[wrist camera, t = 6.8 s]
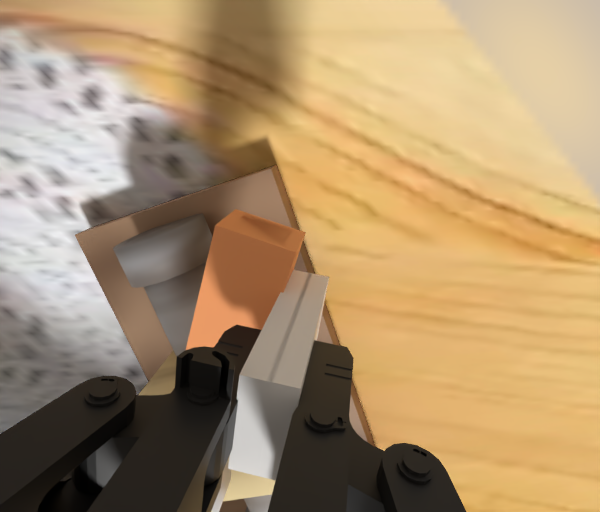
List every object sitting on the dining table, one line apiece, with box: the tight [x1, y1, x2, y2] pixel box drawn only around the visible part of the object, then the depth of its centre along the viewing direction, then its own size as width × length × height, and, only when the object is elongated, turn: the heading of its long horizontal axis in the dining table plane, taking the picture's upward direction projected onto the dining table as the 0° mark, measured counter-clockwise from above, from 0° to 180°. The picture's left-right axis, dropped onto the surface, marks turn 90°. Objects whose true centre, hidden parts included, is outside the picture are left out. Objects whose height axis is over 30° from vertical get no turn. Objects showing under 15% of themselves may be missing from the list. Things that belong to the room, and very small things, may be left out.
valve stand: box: [75, 165, 375, 512], centre depth 23 cm, size 22×12×8 cm, turn 19°
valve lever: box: [186, 209, 306, 512], centre depth 16 cm, size 14×3×2 cm, turn 163°
